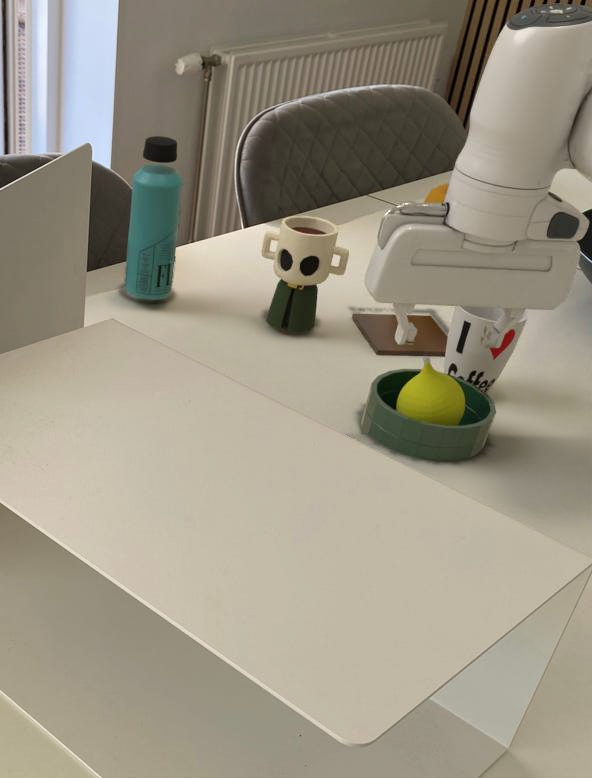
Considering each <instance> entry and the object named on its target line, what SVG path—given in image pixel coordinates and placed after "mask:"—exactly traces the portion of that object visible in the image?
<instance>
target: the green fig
mask: <svg viewBox="0 0 592 778" xmlns="http://www.w3.org/2000/svg"><path fill="white" fill-rule="evenodd" d="M426 348H427V347H426ZM424 350H425V349H424ZM426 351H427V350H426ZM430 357H431V356H426V355H425V356H424V357H423V368H421V369H422V371H421V372H420V373H419V374H418V375H416V376H415V377H413V378H412V379H411V380H410V381H409V382H407V383H406V385H405V386H404V387H403V388H402V390H401V392H400V394H399V396H398V399H397V405H396V411H397V412H399V413H401V414H403V415H405V416H407V417H410V418H413V419H416V420H420V421H423V422H426V423H432V424H438V425H444V426H457V425H458V424H459V422H460V421H461V419H462V416H463V414H464V410H465V396H464V393H463V390H462V388H461V387H460V385H459V384H458V383H457V382H456V381H455V380H454V379H453V378H452V377H450V376H448V375H446V374H444V372H441V371H438V370H436V369H435V368H434V367H433V365H432V363H431V358H430Z"/></svg>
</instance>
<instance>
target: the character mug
mask: <svg viewBox="0 0 592 778" xmlns="http://www.w3.org/2000/svg"><path fill="white" fill-rule="evenodd" d="M338 235H339V227H338V225H336V224H335V223H334V222H332V221H331V220H330V221H329V220H328V219H324V218H320V217H317V216H311V215H292V216H286V217H285V218H283V219H282V222H281V224H280V229H279V232H275V231H271V230H268V231H265V233H264V236H263V241H262V246H261V256H262V257H263V258H265V259H269V260H273V265H272V266H273V271H274V274H275V275H276V277H278V278H279V281H278V282H277V284H276V288H275V290H274V294H273V297H272V298H271V302H270V306H269V309H268V312H267V317H266V322H267V324H268V325H269V326H270V327H272V328H274V329H276V330H277V331H281V329H282V326H283V325H284V326H287V329H286V332H287V333H290V334H303V333H309V332H310V331H311V330H312V329H314V327H315V323H316V317H317V316H316V315H317V306H318V305H317V303H318V295H319V294H318V293H319V289H318V285H320V284H322V283H324V282H325V281H327V279H328V277H329V276H330V274H331V275H336V276H344V275H345V273H346V269H347V266H348V265H347V264H348V261H349V257H350V250H349V249H347V248H345V247H341V246H336V244H337V240H338V237H339V236H338ZM272 241H275V242H277V245H276V249H275V251H272V250H270V248H271V243H272ZM334 255H336V256H340V258H339V262H338V266H335V265H332V263H333V258H334Z"/></svg>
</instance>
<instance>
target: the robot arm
mask: <svg viewBox="0 0 592 778" xmlns="http://www.w3.org/2000/svg"><path fill="white" fill-rule="evenodd" d="M468 128H469V129H468V134H467V138H466V141H465V144H464V146H463V147H462V150H461V151H460V153H459V154H458V155H457V158H456V159H455V163H454V166H453V170H452V173H451V177H450V179H449V186H448V190H447V193H446V196H445V200H444V203H424V202H416V201H412V200H406V201H402V202H400V203H399V205H395V206H393V207H392V208H390V209H389V210H387V211H386V212H385V213H384V214H383V216H382V218H381V220H380V224H379V228H378V232H377V242H376V245H375V247H374V250H373V252H372V255H371V257H370V260H369V263H368V264H367V268H366V271H365V274H364V278H363V279H364V280H363V281H364V282H363V283H364V286H365V288H366V290H367V292H368V293H369V295H370V296H371V297H372V299H373V300H374V301H375V302H377V303H379V304H392V307H393V311H394V315H396V318H397V321H398V326H397V330H396V333H395V340H396V342H397V343H398V344H399V345H413V344H414V341H415V340H414V338H415V337H416V334H417V331H418V330H417V329H416V327H414V325H413V323H409V322H408V318H407V315H413V313H414V310H415V306H416V305H418V306H419V305H422V306H442V307H443V306H444V307H445V306H446V307H455V306H465V307H489V308H502V310H503V311H504V313H503V314H502V315H501V317H500V318H499V319H498V320H497V321H496V322H495V323H494V325H493V326H485V328H484V331H483V332H484V334H483V335H482V337H481V344H482V345H484V347H485V348H500V346H501V343H502V341H503V338H504V335H505V333H507V332H508V331H509V330H510V329H512V328H513V327H514V326H515V325H516V324H517V323H518V322H519V321H520V320H521V319H522V317H523V314H524V311H525V309H526V310H539V311H540V310H541V311H553V310H556V309H557V308H559V306H560V305H562V304H563V303H564V302H565V301H566V299H567V297H568V295H569V293H570V290H571V288H572V285H573V282H574V280H575V277H576V274H577V270H578V267H579V264H580V259H581V246H580V243H578V241H580V240H582V239H583V238H584V237H585V235H586V233H587V232H588V229H589V225H590V220H589V219H588V217H586V215H585V214H584V213H583V212H581V211H580V210H579V209H578V208H577V207H576V206H574V205H573V204H572V203H570V202H568V201H567V200H565V199H564V198H562V197H561V196H560V195H558V194H555V193H553V192H552V191H550V190H551V186H552V184H553V181H554V179H555V176H556V175H557V173H558V172H559V171H561V170H564V169H565V170H566V169H567V170H576V171H577V172H578V173H579V174H580V175H581V176H582V177H583V178H585V179H586V180H587V181H589V182H590V183H591V184H592V7H590V6H588V5H582V4H576V3H572V4H570V3H569V4H568V3H559V2H558V3H546V4H539V5H534V6H530V7H527V8H524V10H521V11H520V12H518V13H516V14H514V15H513V16H511V18H509V20H508V21H507V22H506V23H505V25H504V26H503V28H502V29H501V31H500V33H499V35H498V37H497V39H496V40H495V42H494V45H493V47H492V49H491V52H490V54H489V57H488V59H487V61H486V65H485V67H484V70H483V73H482V75H481V78H480V81H479V84H478V87H477V90H476V92H475V96H474V99H473V103H472V106H471V109H470V114H469V127H468ZM398 211H399V212H398Z"/></svg>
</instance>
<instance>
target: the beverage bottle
mask: <svg viewBox="0 0 592 778" xmlns="http://www.w3.org/2000/svg"><path fill="white" fill-rule="evenodd" d="M142 157H143V158H144V159H145V160H146V161H149V162H153V163H154V164H153V163H152V164H151V163H150V164H146V165H144V166H142V167H141V168H139V169H138V170H137V171H136V172H135V173H134V174H133V176H132V188H131V189H132V191H131V202H130V203H131V204H130V205H131V206H130V215H129V216H130V217H129V227H128V230H127V231H128V233H127V234H126V235H127V239H126V242H127V245H125V246H126V247H125V248H126V249H125V250H126V252H125V253H126V256H125V259H124V260H125V267H124V274H125V275H123V277H124V279H123V285H124V287H125V291H126V292H127V294H129V295H130V296H132V297H135V298H137V299H142V300H152V301H155V300H162V299H165V298H168V297H169V296H170V294H171V291H172V290H173V283H174V281H173V280H174V275H175V272H174V271H175V270H176V265H175V263H176V262H177V261H176V260H177V259H176V258H177V257H176V255H177V253H176V252H177V241H178V230H179V229H180V216H181V209H182V208H181V200H182V189H183V185H184V180H183V178H182V176H181V175H180V174H179V172H178V171H177V170H176V168H173V167H172V166H168V165H164V164H168V163H174V162H176V161H177V159H178V142H177V140H176V139H174V138H171V137H169V136H168V137H167V136H160V135H156V136H149V137H147V138H145V141H144V147H143V151H142ZM157 163H159V164H157ZM160 163H161V164H160Z"/></svg>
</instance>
